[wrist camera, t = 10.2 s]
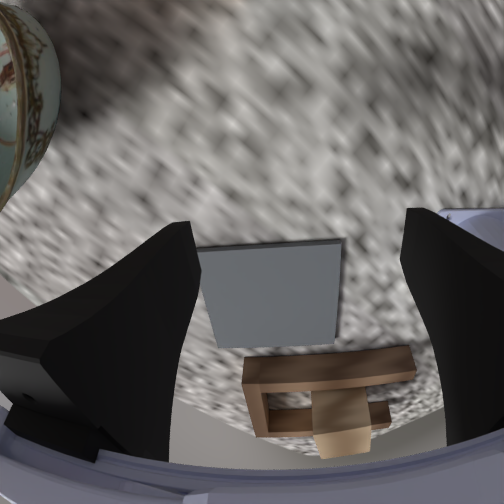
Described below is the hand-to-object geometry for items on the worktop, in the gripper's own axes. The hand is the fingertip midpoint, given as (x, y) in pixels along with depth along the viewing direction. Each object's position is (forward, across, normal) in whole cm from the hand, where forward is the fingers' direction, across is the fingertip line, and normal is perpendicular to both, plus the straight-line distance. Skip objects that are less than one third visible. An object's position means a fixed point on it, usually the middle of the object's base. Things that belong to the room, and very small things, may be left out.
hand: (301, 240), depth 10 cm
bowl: (+10, +17, -8) cm, 21 cm away
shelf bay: (+9, -3, +24) cm, 26 cm away
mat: (+9, +2, +11) cm, 15 cm away
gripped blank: (+10, -4, +24) cm, 26 cm away
